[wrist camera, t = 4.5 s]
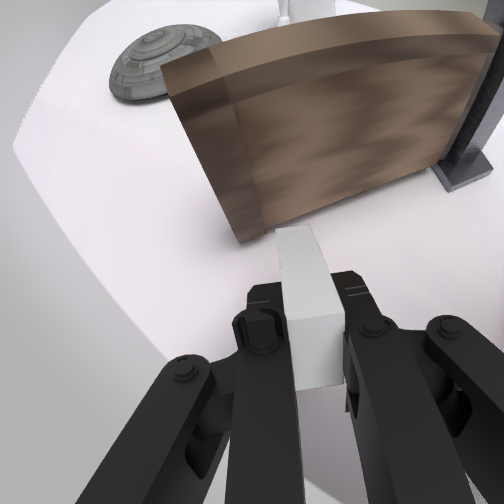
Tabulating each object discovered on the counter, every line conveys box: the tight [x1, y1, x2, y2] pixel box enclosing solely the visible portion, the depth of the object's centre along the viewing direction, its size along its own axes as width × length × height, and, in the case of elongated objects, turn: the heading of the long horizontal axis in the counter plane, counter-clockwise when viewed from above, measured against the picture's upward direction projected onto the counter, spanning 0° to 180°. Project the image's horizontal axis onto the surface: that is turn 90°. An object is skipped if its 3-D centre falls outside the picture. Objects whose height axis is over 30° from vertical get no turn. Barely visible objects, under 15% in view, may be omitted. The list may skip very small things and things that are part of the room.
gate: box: [160, 10, 503, 244], centre depth 16 cm, size 19×2×13 cm, turn 110°
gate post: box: [431, 0, 504, 193], centre depth 15 cm, size 6×6×18 cm
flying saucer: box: [109, 24, 222, 100], centre depth 31 cm, size 15×15×6 cm
